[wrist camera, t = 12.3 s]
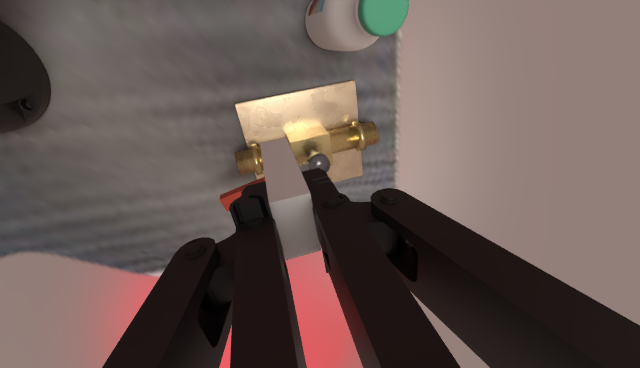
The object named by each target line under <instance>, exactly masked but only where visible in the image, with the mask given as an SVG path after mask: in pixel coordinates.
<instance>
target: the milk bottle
mask: <svg viewBox="0 0 640 368" xmlns="http://www.w3.org/2000/svg"><path fill="white" fill-rule="evenodd" d="M408 6H409V1H408V0H312V1H311V2H310V4H309V6H308V8H307V11H306V16H305V25H306V30H307V33H308V35H309V37H310V39H311V40H312V41H313V43H314V44H316V45H317V46H318V47H320V48H322V49H326V50H334V51H358V50H361V49H364V48H366V47H368V46H370V45H371V44H373V43H374V42H375V41H376V40H377V39H378V38H379V37H383V36H388V35H391V34H393V33H394V32H396V31H397V30H398V29H399V28H400V27H401V26H402V24H403V23H404V21H405V19H406V16H407V13H408Z"/></svg>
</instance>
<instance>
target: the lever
mask: <svg viewBox="0 0 640 368" xmlns="http://www.w3.org/2000/svg"><path fill="white" fill-rule="evenodd" d="M298 166H299V168H300V170H301V172H303V171H307V170H311V169H315V168H320V169H322V170H324V171H326V173H327V172H328V171H329V169H330V161H329V159H328V158H327V156H326V155H325V154H324V153H322V152H315V153H312V154H311V155H310V156H309V157H308V159H307V161H306V162H304V163H301V164H299V165H298ZM264 181H265V177H263V178H260V179H258V180H256V181H253V182H251V183H248V184H246V185H243V186H241V187H239V188H236V189H234V190H231V191H229V192H226V193H224V194H222V195H220V201H221V203H222V204H223V206H224V207H225V209H226V211H230V210H229V206H230V204H231V203H232V202H233V201H234V200H235V199H237V198H239V197H241V192H242V191H243V189H244V188H245V187H246V186H248V185H252V184H256V183H260V182H264Z"/></svg>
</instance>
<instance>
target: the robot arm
mask: <svg viewBox="0 0 640 368" xmlns="http://www.w3.org/2000/svg"><path fill="white" fill-rule="evenodd" d="M49 99H50V83H49V79H48V76H47V73H46V70H45V68H44V66H43V64H42V62H41V61H40V59H39V57H38V56H37V55H36V53H35V52H34V50H33V49H32V48H31V47H30V46H29V45H28V43H27V42H26V41H25V40H24V39H23V38H22V37H20V36H19V35H18V34H17V33H16V32H15V31H13V30H12V29H11V28H9V27H8V26H7V25H5V24H4V23H2V22H1V21H0V133H4V132H9V131H13V130H16V129H19V128H21V127H24V126H27V125H29V124H31V123H33V122H34V121H36V120H37V119H38V118H39V117H40V116H41V115H42V114H43V113H44V111H45V110H46V108H47V106H48V103H49ZM260 148H261V155H262V162H263V168H264V175H265V181H264V182H260V183H256V184H252V185H248V186H246V187H245V188H244V189H243V191H242V192H241V197H239V198H237V199H235V200H234V201H233V202H232V203H231V204H230V206H229V210H230V212H231V215H232V218H233V220H234V223H235V226H236V232H235V233H234V234H233V235H231V236H230V237H228V238H226V239H225V240H222V241H220V242H218V243H215V241H214V240H213V239H211V238H203V237H202V238H198V239H194V240H192V241H190V242H188V243H186V244H185V245H183V246H182V247H181V248H180V249H179V250H178V251H177V252H176V253H175V255H174V256H173V258H172V259H171V261H170V262H169V264H168V266H167V267H166V269H165V270H164V272H163V273H162V275H161V276H160V278H159V280H158V281H157V283H156V285H155V286H154V287H153V289H152V291H151V292H150V294H149V295H148V297H147V298H146V300H145V302H144V303H143V305H142V306H141V308H140V309H139V311H138V313H137V314H136V316H135V317H134V319H133V320H132V322H131V323H130V325H129V326H128V328H127V330H126V331H125V333H124V334H123V336H122V338H121V339H120V341H119V342H118V344H117V345H116V347H115V348H114V350H113V352H112V353H111V355H110V356H109V358H108V359H107V361H106V362H105V364H104V366H103V367H102V368H219V366H220V363H221V359H222V356H223V352H224V349H225V346H226V342H227V339H228V335H229V332H230V328H231V325H232V336H231V360H230V361H231V363H230V368H307V367H306V362H305V357H304V352H303V347H302V341H301V336H300V331H299V326H298V321H297V315H296V310H295V305H294V300H293V295H292V290H291V284H290V279H289V274H288V269H287V266H286V262H285V260H288V259H292V258H295V257H299V256H302V255H306V254H309V253H313V252H316V251H320V250H321V248H322V252H323V257H324V262H325V268H326V273H329V275H330V277H331V280H332V283H333V285H334V288H335V291H336V294H337V297H338V299H339V302H340V305H341V308H342V310H343V313H344V316H345V319H346V321H347V324H348V327H349V330H350V332H351V335H352V338H353V341H354V343H355V346H356V349H357V352H358V354H359V357H360V360H361V363H362V366H363V368H460V366H459V365H458V363H457V362H456V360H455V358H454V357H453V355H452V354H451V353H450V351H449V349H448V348H447V346H446V345H445V343H444V342H443V341H442V339H441V337H440V336H439V334H438V333H437V331H436V330H435V328H434V327H433V326H432V324H431V322H430V321H429V319H428V318H427V316H426V315H425V313H424V312H423V310H422V309H421V307H420V306H419V304H418V303H417V301H416V300H415V298H414V297H413V295H412V294H411V292H412V293H413V294H414V295H415V296H416V297H417V298H418V299H419V300H420V301H421V302H422V303H423V304H424V305H425V306H426V307H427V308H428V309H430V311H432V312H433V313H434V314H435V315H436V316H437V317H438V318H439V319H440V320H441V321H442V322H443V323H444V324H445V325H446V326H447V327H448V328H450V330H451V331H453V333H455V334H456V335H457V336H458V337H459V338H460V339H461V340H462V341H463V342H464V343H465V344H466V345H467V346H468V347H469V348H470V349H471V350H472V351H473V352H474V353H475V354H476V355H478V356H479V357H480V358H481V359H482V360H483V361H484V362H485V363H486V364H487V365H488V366H489V367H490V368H640V325H638V324H636V323H634V322H632V321H631V320H629V319H627V318H625V317H624V316H622V315H620V314H618V313H617V312H615V311H613V310H611V309H610V308H608V307H606V306H604V305H603V304H601V303H599V302H597V301H595V300H594V299H592V298H590V297H588V296H587V295H585V294H583V293H581V292H579V291H578V290H576V289H574V288H572V287H571V286H569V285H567V284H565V283H564V282H562V281H560V280H558V279H557V278H555V277H553V276H551V275H550V274H548V273H546V272H544V271H542V270H541V269H539V268H537V267H535V266H534V265H532V264H530V263H528V262H527V261H525V260H523V259H521V258H520V257H518V256H516V255H514V254H513V253H511V252H509V251H507V250H506V249H504V248H502V247H500V246H499V245H497V244H495V243H493V242H492V241H490V240H488V239H486V238H484V237H483V236H481V235H479V234H477V233H476V232H474V231H472V230H470V229H469V228H467V227H465V226H463V225H461V224H460V223H458V222H456V221H454V220H453V219H451V218H449V217H447V216H446V215H444V214H442V213H440V212H439V211H437V210H435V209H433V208H431V207H430V206H428V205H426V204H425V203H423V202H421V201H419V200H417V199H415V198H414V197H412V196H410V195H409V194H407V193H405V192H403V191H401V190H398V189H392V188H388V189H387V188H386V189H382V190H378V191H376V192H375V193H373V194H372V196H371V202H351V201H350V200H349V198H348V197H347V196H346V195H344V194H341V193H339V192H338V190H337V189H336V187H335V186H334V184H333V182H332V181H331V179H330V178H329V176H328V175H327V173H326V171H324V170H322V169H320V168H315V169H311V170H307V171H303V172H301V170H300V168H299V166H298V164H297V161H296V159H295V157H294V154H293V152H292V150H291V148H290V145H289V143H288V141H287V138H283V139H278V140H274V141H269V142H265V143H260ZM320 245H321V246H320ZM410 291H411V292H410Z"/></svg>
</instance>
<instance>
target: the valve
mask: <svg viewBox="0 0 640 368" xmlns="http://www.w3.org/2000/svg"><path fill="white" fill-rule="evenodd" d="M235 106H236V110H237V113H238V116H239V120H240V123H241V127H242V130H243V133H244V137H245V140H246V143H247V147H248V149H247V150H242V151H238V152H235V157H236V162H237V166H238V169H239V172H240V174H241V175H246V174H250V173H255V174H256V177H257V180H258V179H260V178H263V177H265V175H264V168H263V162H262V155H261V148H260V143H265V142H269V141H274V140H278V139H283V138H287V141H288V143H289V145H290V148H291V150H292V152H293V154H294V157H295V159H296V161H297V164H298V165H299V164H301V163H304V162H306V161H307V159H308V157H309V156H310V155H311V154H312V153H315V152H322V153H324V154H325V155H326V156H327V158H328V159H329V161H330V169H329V171H328V172H327V175H328V176H329V178H330V179H331V181H332V182H337V181H341V180H345V179H349V178H353V177H357V176H361V175H363V172H362V160H361V151H362V150H365V148H366V146H368V145H373V144H377V143H378V139H379V134H378V129H377V126H376V124H375V123H374V122H373V121H371V122H367V123H362V124H361V122H360V121H358V111H357V98H356V86H355V80H348V81H343V82H338V83H333V84H328V85H323V86H318V87H313V88H308V89H303V90H298V91H293V92H288V93H283V94H278V95H273V96H268V97H263V98H258V99H253V100H248V101H243V102H238V103H235Z"/></svg>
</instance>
